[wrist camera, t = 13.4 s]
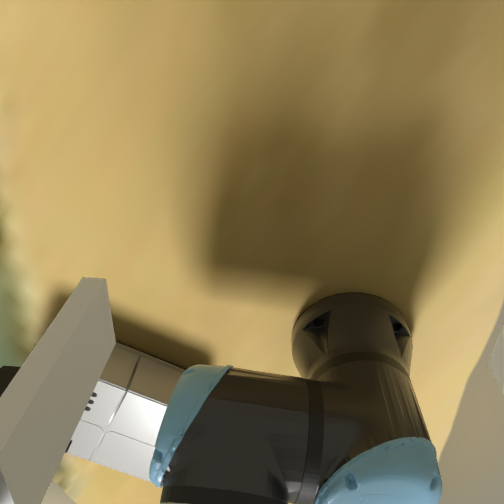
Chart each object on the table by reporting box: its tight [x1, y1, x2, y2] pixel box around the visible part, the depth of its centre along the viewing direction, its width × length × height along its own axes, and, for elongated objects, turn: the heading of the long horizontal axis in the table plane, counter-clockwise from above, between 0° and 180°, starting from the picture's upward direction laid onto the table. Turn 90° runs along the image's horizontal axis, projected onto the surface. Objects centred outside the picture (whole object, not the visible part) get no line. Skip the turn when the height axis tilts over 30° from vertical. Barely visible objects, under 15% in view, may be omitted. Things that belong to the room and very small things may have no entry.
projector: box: [65, 342, 186, 482], centre depth 64 cm, size 17×22×8 cm
